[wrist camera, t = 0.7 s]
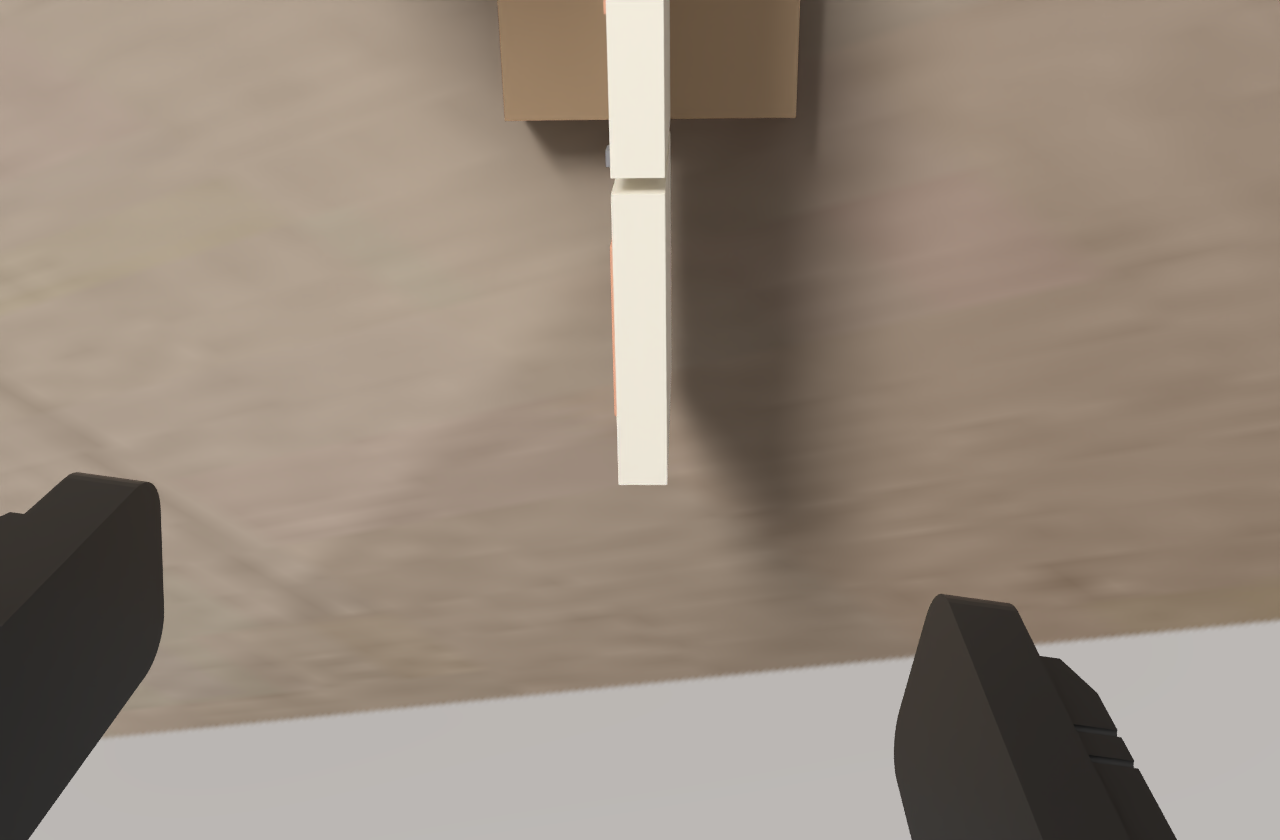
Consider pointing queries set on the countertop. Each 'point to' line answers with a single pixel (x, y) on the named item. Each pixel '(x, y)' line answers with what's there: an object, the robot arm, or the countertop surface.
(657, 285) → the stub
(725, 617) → the countertop surface
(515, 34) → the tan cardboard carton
